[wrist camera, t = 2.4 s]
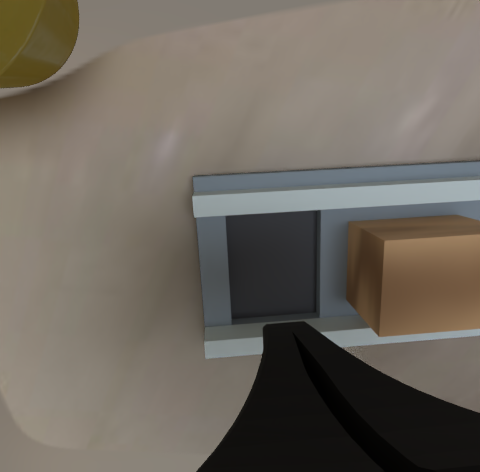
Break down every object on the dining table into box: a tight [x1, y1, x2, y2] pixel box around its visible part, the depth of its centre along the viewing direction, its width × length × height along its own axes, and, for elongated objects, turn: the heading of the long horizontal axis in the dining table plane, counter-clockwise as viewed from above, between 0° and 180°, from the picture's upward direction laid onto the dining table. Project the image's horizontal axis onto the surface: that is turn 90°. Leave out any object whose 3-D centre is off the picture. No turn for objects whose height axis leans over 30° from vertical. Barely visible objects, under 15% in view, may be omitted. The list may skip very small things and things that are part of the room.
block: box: [346, 215, 480, 337], centre depth 17 cm, size 4×6×4 cm
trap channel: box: [192, 160, 480, 359], centre depth 19 cm, size 10×25×2 cm, turn 93°
